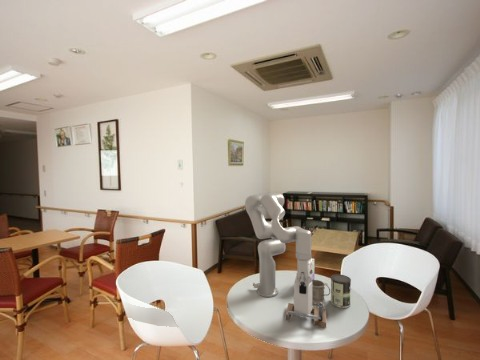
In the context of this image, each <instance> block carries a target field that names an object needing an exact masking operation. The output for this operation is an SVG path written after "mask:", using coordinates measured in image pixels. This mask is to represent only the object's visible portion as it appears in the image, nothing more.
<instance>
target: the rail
mask: <svg viewBox="0 0 480 360" xmlns="http://www.w3.org/2000/svg"><path fill="white" fill-rule="evenodd" d="M290 314H291V315H292V316H298V317H304V318H310V319H314V318H315V319H321V317H320V316H316V315H314V314H311V313H310V314H304V313H298V312H294V311H288V313H287V322H290V321H289V315H290Z"/></svg>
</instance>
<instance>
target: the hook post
mask: <svg viewBox="0 0 480 360" xmlns="http://www.w3.org/2000/svg"><path fill="white" fill-rule="evenodd" d="M318 308H319V316H320V317H321V319H319V320H320V321H322V320H323V308H324V304H323V302H319V304H318Z"/></svg>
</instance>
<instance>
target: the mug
mask: <svg viewBox="0 0 480 360" xmlns="http://www.w3.org/2000/svg"><path fill="white" fill-rule="evenodd" d="M325 286H326V287H327V289H328V294H326V293H325ZM330 295H331V287H330V286H329V284H328V283H326V282H324V281H322V280H319V279H314V280H312V305H313V304H314V305H319V302H323V305H324V304H325V303H326V298H325V296H330Z"/></svg>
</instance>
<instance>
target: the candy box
mask: <svg viewBox="0 0 480 360" xmlns="http://www.w3.org/2000/svg"><path fill="white" fill-rule="evenodd" d="M315 262H316V261H315V258H312V257H311V260H309V270H308V276H311V280H315Z"/></svg>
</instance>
